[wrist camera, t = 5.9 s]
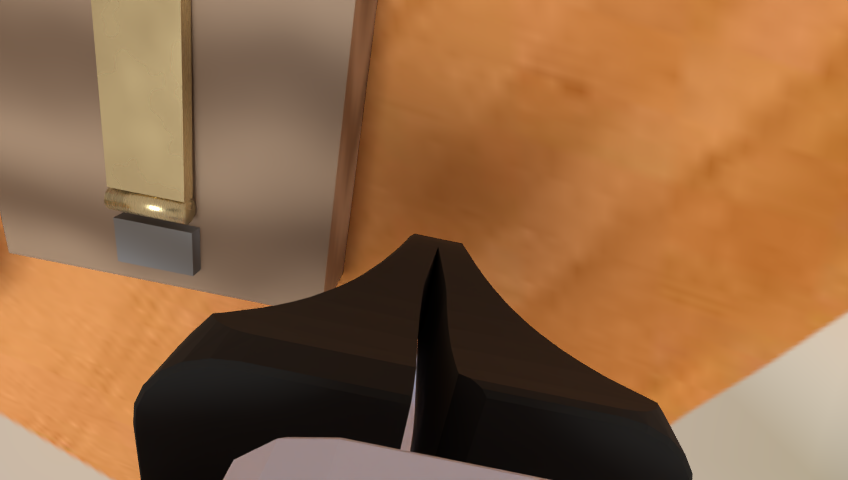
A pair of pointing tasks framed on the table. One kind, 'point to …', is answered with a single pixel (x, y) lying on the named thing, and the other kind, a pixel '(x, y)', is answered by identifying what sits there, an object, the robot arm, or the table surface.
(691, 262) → the table surface
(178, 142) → the hasp
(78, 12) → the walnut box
